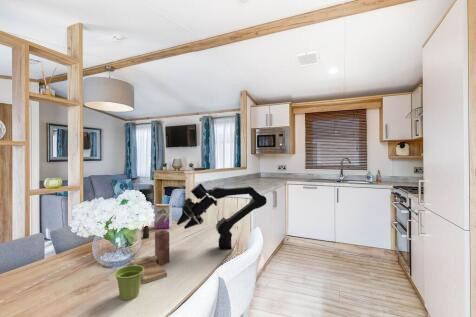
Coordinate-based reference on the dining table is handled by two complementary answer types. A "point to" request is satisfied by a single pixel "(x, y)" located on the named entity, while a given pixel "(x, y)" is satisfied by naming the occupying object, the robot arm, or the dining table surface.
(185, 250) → the dining table surface
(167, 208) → the candy bar box
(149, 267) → the board
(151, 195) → the stick grenade
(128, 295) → the plant pot
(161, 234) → the upright wooden block
